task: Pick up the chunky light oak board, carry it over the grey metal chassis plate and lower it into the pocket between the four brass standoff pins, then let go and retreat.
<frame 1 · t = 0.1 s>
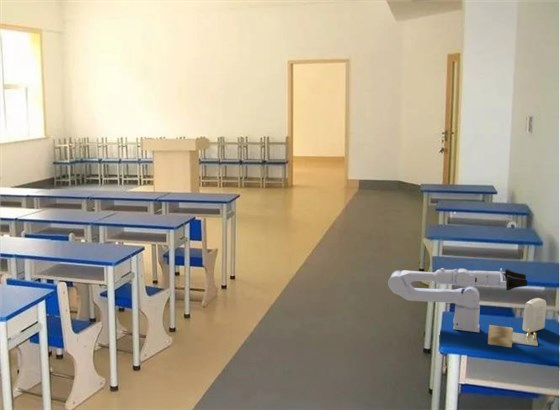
hand: (526, 280, 219), 22 cm above the table, tool horizontal, fingers open, 7 cm apart
board: (499, 343, 214), on the table
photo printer: (533, 329, 229), on the table
chassis: (518, 339, 219), on the table
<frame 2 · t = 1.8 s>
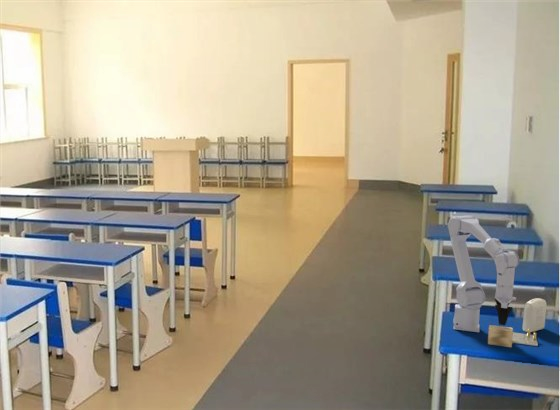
hand: (501, 321, 213), 9 cm above the table, tool pointing down, fingers open, 7 cm apart
nothing on the table moved.
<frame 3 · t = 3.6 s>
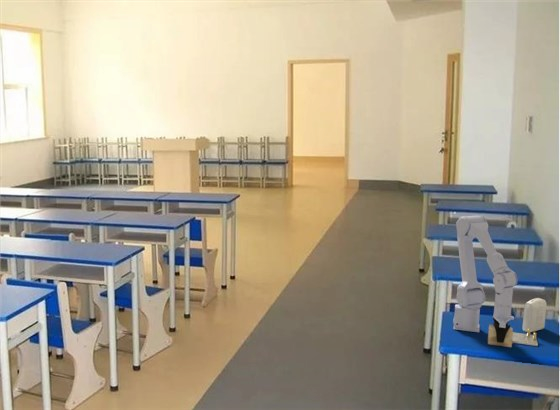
hand: (499, 339, 214), 1 cm above the table, tool pointing down, fingers closed on board, 4 cm apart
board: (499, 343, 214), on the table, touching gripper
everything else where it was.
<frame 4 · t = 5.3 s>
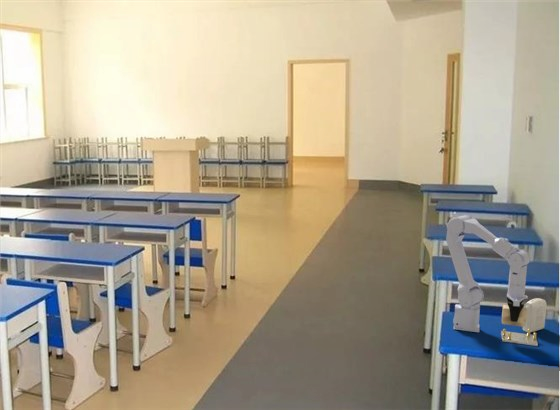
hand: (513, 319, 216), 8 cm above the table, tool pointing down, fingers closed on board, 4 cm apart
board: (513, 323, 216), point 7 cm above the table, touching gripper
everything else where it was.
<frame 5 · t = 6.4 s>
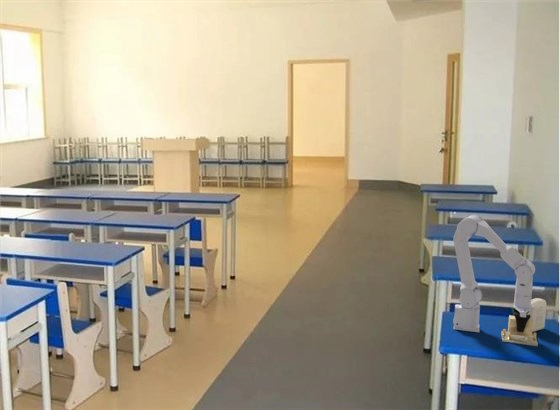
hand: (519, 329, 218), 4 cm above the table, tool pointing down, fingers closed on board, 4 cm apart
board: (519, 333, 218), point 2 cm above the table, touching gripper
everything else where it was.
when the fingers open (3 cm above the table, at t = 7.3 s): board stays where it is, resting on chassis.
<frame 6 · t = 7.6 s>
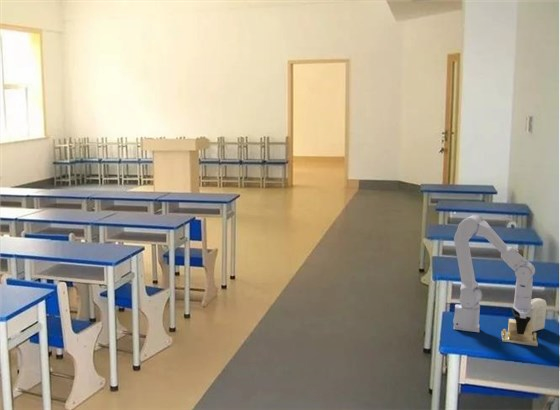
hand: (519, 330, 218), 3 cm above the table, tool pointing down, fingers open, 6 cm apart
board: (519, 337, 219), point 1 cm above the table, touching chassis
everything else where it was.
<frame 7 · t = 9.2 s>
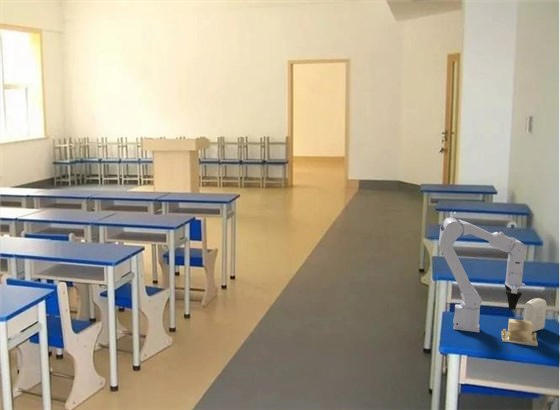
hand: (511, 306, 225), 10 cm above the table, tool pointing down, fingers open, 7 cm apart
nothing on the table moved.
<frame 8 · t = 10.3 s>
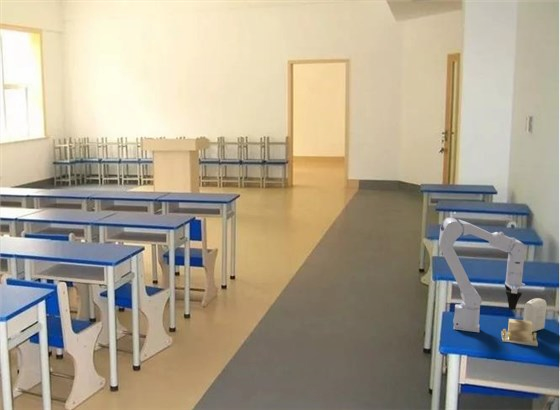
hand: (511, 306, 225), 10 cm above the table, tool pointing down, fingers open, 7 cm apart
nothing on the table moved.
at the end: board 0.1 cm off-centre on the chassis, point 0.8 cm above the chassis's base; board tilted 0°; the gripper is holding nothing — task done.
